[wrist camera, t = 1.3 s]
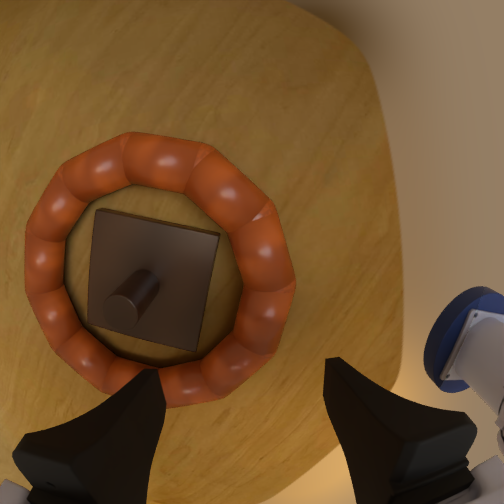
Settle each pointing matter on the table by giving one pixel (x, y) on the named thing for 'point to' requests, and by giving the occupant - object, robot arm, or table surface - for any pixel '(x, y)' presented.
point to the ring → (217, 208)
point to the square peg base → (150, 278)
